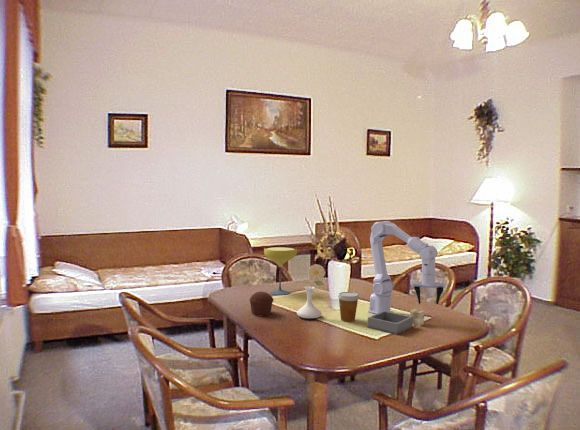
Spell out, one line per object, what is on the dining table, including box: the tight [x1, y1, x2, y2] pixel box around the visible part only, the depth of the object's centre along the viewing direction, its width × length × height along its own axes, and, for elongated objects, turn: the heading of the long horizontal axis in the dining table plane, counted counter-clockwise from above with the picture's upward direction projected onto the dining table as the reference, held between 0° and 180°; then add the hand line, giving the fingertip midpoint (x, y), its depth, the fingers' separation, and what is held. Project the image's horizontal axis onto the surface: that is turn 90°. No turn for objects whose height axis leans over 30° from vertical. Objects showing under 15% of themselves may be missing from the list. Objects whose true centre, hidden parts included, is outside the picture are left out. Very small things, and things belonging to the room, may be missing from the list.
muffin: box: [249, 291, 274, 317], centre depth 227 cm, size 12×11×10 cm
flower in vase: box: [296, 263, 326, 319], centre depth 221 cm, size 13×11×25 cm
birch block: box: [409, 308, 425, 327], centre depth 214 cm, size 4×4×6 cm
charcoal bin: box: [367, 311, 413, 336], centre depth 208 cm, size 14×14×4 cm
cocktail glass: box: [263, 245, 298, 296], centre depth 266 cm, size 18×18×25 cm
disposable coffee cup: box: [337, 291, 360, 323], centre depth 218 cm, size 10×10×12 cm
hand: (428, 303), depth 215 cm, fingers open, 7 cm apart
